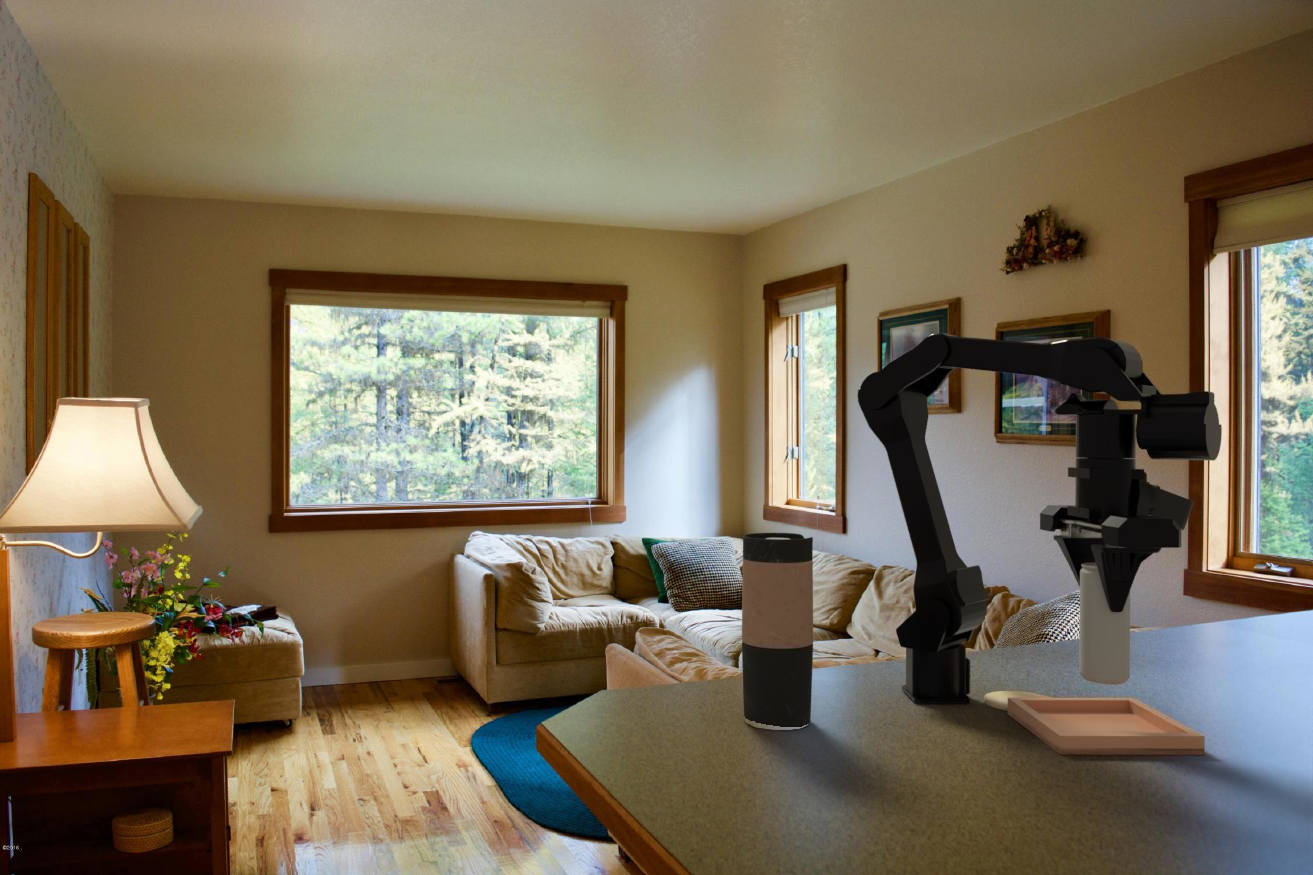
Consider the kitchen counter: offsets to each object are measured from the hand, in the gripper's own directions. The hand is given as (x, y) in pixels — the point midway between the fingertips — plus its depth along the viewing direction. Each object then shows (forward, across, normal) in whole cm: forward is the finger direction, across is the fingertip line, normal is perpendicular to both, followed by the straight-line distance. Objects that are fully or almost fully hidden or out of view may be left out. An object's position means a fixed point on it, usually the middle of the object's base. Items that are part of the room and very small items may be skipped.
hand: (1104, 607), depth 103 cm
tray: (+13, -1, +1) cm, 13 cm away
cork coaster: (+13, +10, +4) cm, 17 cm away
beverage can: (+8, 0, 0) cm, 8 cm away
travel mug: (+13, +4, +34) cm, 36 cm away
